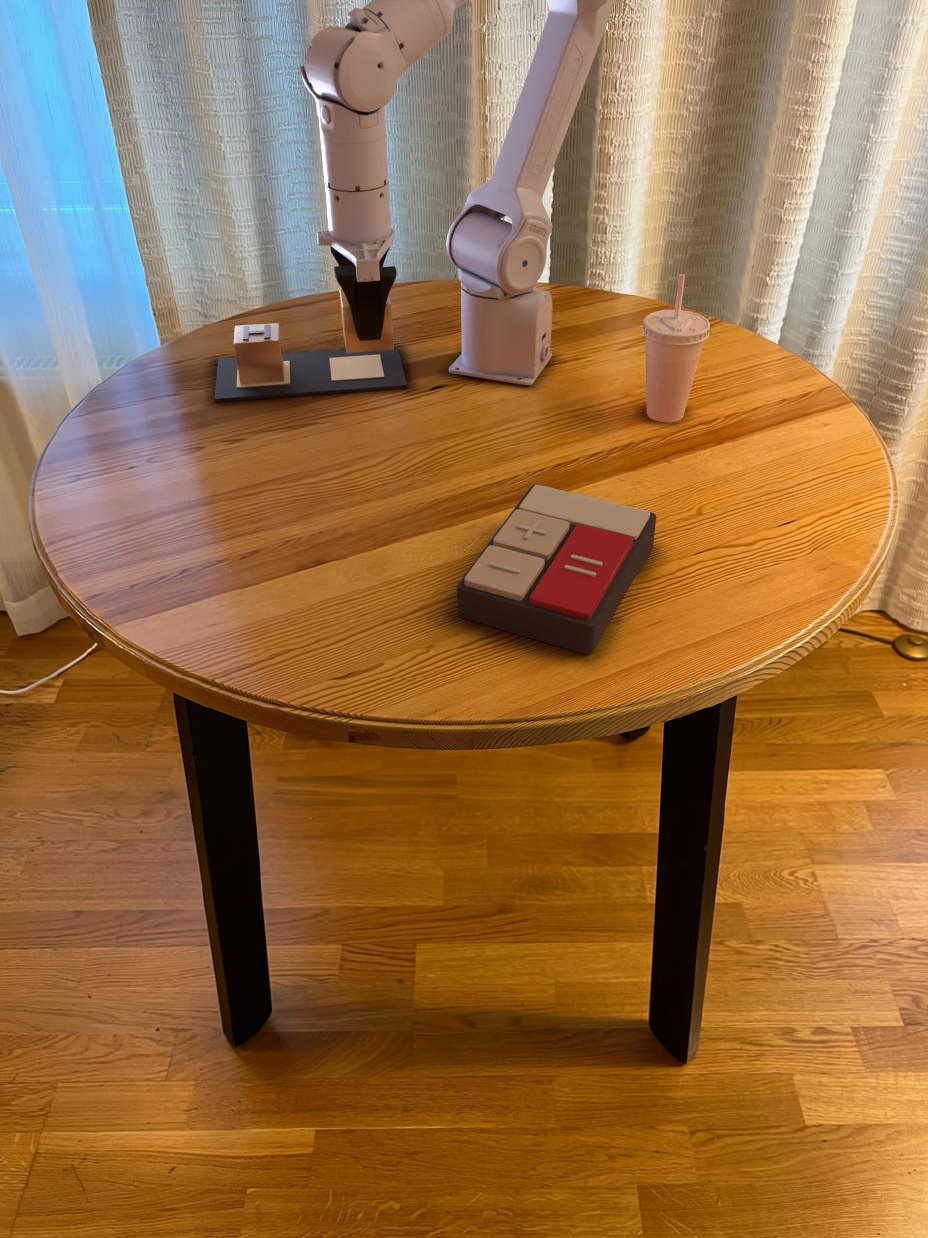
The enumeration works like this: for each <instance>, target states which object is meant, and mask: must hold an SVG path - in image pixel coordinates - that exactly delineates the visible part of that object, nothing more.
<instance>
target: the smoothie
mask: <svg viewBox="0 0 928 1238" xmlns="http://www.w3.org/2000/svg"><path fill="white" fill-rule="evenodd" d="M685 279H686V274H685V273H679V274H678V281H677V289H676V296H675V304H674V309H661V310H655V311H653V312H651V313H649V314H647V315H646V316H645V317H644V318H643V322H642V327H641V332H642V334H643V336H645V337H644V339H645V341H644V342H645V343H644V346H645V347H644V349H645V389H646V390H645V397H646V400H645V402H646V416H647V417H648V418H649V419H651V420H652V421H656V422H660V423H665V424H666V423H667V424H668V423H675V422H679V421H681V420H682V419H683V417H684V416H685V411H686V408H687V405H688V400H689V397H690V394H691V390H692V387H693V383H694V380H695V376H696V372H697V369H698V366H699V363H700V358H701V355H702V351H703V347H704V343H705V341H706V340H707V339H708V338H709V337H710V333H711V332H710V328H711V323H710V321H709V320H708V318H707V317H704V316H703V315H701V314H699V313H697V312H694V311H690V310H683V309H682V304H683V303H682V302H683V295H684V287H685Z"/></svg>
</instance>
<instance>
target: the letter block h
mask: <svg viewBox="0 0 928 1238" xmlns="http://www.w3.org/2000/svg"><path fill="white" fill-rule="evenodd" d="M233 347H234V353H235V357H236V360H237V366H238V372H239V379H240V384H255V383H268V382H282V381H284V361H283V354H284V353H283V347H282V339H281V331H280V323H279V322H273V323H271V322H270V323H260V324H257V323H256V324H243V325H235V326H234V338H233Z"/></svg>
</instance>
